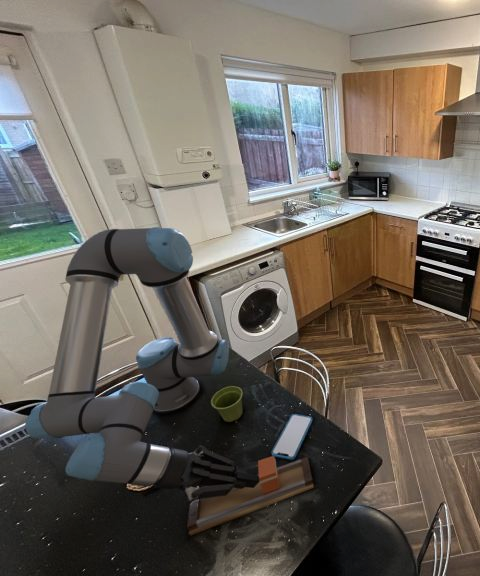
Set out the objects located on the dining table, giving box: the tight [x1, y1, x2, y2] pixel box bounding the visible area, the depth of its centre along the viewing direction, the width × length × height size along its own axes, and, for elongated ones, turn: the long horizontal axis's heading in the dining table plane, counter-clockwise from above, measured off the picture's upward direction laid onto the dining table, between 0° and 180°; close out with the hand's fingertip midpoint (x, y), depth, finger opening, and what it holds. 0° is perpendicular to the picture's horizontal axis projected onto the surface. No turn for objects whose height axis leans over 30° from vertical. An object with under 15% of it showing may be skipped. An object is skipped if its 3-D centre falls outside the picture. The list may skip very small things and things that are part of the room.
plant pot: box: [210, 385, 244, 423], centre depth 104 cm, size 9×9×9 cm
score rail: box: [186, 456, 315, 537], centre depth 83 cm, size 8×30×3 cm, turn 112°
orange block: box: [257, 455, 280, 495], centre depth 82 cm, size 5×4×9 cm
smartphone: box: [271, 413, 313, 461], centre depth 99 cm, size 8×1×15 cm
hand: (256, 481), depth 81 cm, fingers closed
